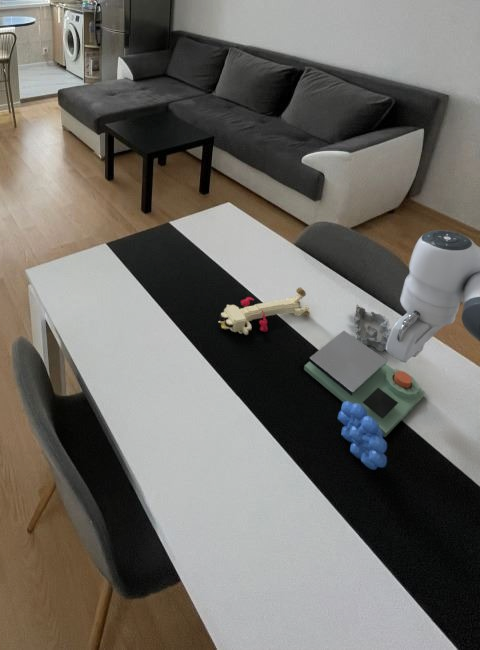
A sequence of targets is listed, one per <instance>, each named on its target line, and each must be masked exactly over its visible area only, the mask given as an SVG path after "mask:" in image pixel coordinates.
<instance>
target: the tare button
mask: <svg viewBox="0 0 480 650" xmlns="http://www.w3.org/2000/svg"><path fill="white" fill-rule="evenodd" d="M403 371H404V370H401V371H397V372H396V373H395V376H394V381H395V383H396V384H397V385H398V386H400V387H401V388H404V389H408V388H410V386H411V383H412V379H411V377H410V376H411V375H410V374H409V373H407V372H406V373H405V371H404V372H403ZM408 374H409V375H410V376H409V375H408Z"/></svg>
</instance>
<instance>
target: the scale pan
mask: <svg viewBox="0 0 480 650" xmlns="http://www.w3.org/2000/svg"><path fill="white" fill-rule="evenodd" d="M308 362H311V363H312V364H313V365H314V366H315V367H317V368H318V369H319V370H320V371H322V372H323V373H324V374H325V375H327V376H328V377H329V378H330V379H331V380H333V381H334V382H335V383H336V384H338V385H339V386H340V387H341V388H343V389H344V390H345V391H346V392H348V393H349V394H350V395H351V396H352V395H353V394H354V393H355V392H357V391H358V390H359V389H360V388H361V387H362V386H363V385H364V384H365V383H366V382H367V381H369V380H370V379H371V378H372V377H373V376H374V375H375V374H376V373H377V372H378V371H379V370H380V369H382V368H383V367H384V366H385V365H387V363H388V360H387V359H386V358H384V357H383V356H381V355H380V354H379V353H377V351H374V350H373V349H371V347H368V345H367V346H366V345H364V344H363V343H361V342H360V341H359V340H357V339H356V338H355V337H354V336H353V335H352V334H350V333H349V332H347V331H346V330H342V331H341V332H340V333H339V334H338V335H336V336H335V337H333V338H332V339H331V340H330V341H328V343H326V344H325V345H323V346H322V347H321V348H320V349H318V350H317V351H316V352H315V353H314V354H312V355H311V356H309V358H308ZM363 403H364V404H365V405H366V406H368V407H369V408H370V409H371V410H372V411H374V412H375V413H376V414H377V415H379V416H380V417H381V418H382V419H383V418H384V417H385V416H386V415H387V414H388V413H389V412H390V411H391V410H392V409H393V408H394V407H395V406H396V405H397V404H398V402H397V401H395V400H394V399H393V398H391V397H390V396H389V395H387V394H386V393H385V392H383V391H382V390H381V389H380V388H377V389H376V390H375V391H374V392H373V393H372V394H371V395H370V396H369V397H368V398H367V399H365V400H364V401H363Z"/></svg>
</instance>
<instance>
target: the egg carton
mask: <svg viewBox="0 0 480 650" xmlns="http://www.w3.org/2000/svg"><path fill="white" fill-rule="evenodd" d="M353 322H354V331H355V333H356V335H355V337H354V338H356V339H357V340H359V341H360V342H361V343H363V344H364V345H366V346H367V347H368V346H371V347H373V348H375V349H376V351H379V352H383V351H386V344H387V341H388V338H389V336H390V333H391V327H390V320H389V318H388V317H387V316H386V315H382V314H381V313H375V312H374V311H370V312H368V311H366V309H365V308H364V307H362V306H359V304H356V305H355V312H354V313H353Z"/></svg>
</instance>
